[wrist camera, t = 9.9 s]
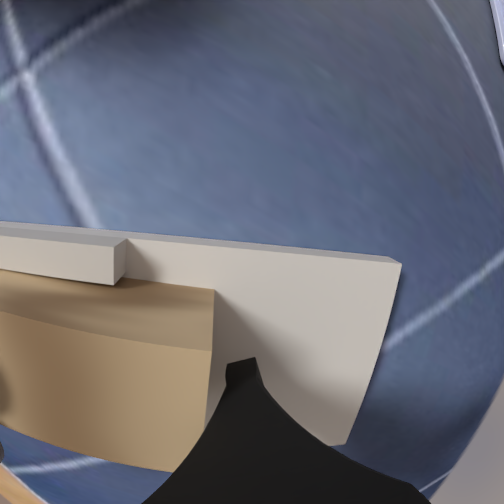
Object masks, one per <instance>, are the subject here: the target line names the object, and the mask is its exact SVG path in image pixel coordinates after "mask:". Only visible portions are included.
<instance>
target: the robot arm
mask: <svg viewBox="0 0 504 504" xmlns="http://www.w3.org/2000/svg"><path fill="white" fill-rule="evenodd" d="M490 4H491V9H492V13H493V18H494V23H495V28H496V34H497V39H498V46H499V53H500V59H501V62H502V64H503V65H504V0H490ZM225 380H226V387H225V389H224V392H223V394H222V396H221V398H220V400H219V403H218V405H217V407H216V409H215V411H214V413H213V415H212V417H211V419H210V420H209V422H208V424H207V426H206V428H205V430H204V431H203V433H202V435H201V436H200V438H199V439H198V441H197V442H196V444H195V445H194V447H193V448H192V450H191V451H190V452H189V454H188V455H187V457H186V458H185V459H184V460H183V462H182V463H181V464H180V465H179V466H178V468H177V469H176V470H175V471H174V472H173V474H172V475H171V476H170V477H169V478H168V479H167V480H166V481H165V482H164V483H163V484H162V485H161V486H160V487H159V488H158V489H157V490H156V491H155V492H154V493H153V494H152V495H151V496H150V497H149V498H147V499H146V500H145V501H144V502H143V503H142V504H431V503H430V502H429V501H428V500H427V499H426V497H425V496H424V495H423V494H421V493H420V492H419V491H418V490H417V489H416V488H415V487H414V486H413V485H411V484H410V483H407V482H404V481H401V480H398V479H395V478H392V477H390V476H387V475H384V474H382V473H379V472H377V471H374V470H372V469H370V468H368V467H366V466H364V465H362V464H359V463H357V462H355V461H353V460H351V459H350V458H348V457H346V456H345V455H343V454H341V453H339V452H338V451H336V450H334V449H333V448H331V447H329V446H328V445H326V444H325V443H323V442H322V441H320V440H319V439H318V438H316V437H315V436H313V435H312V434H311V433H309V432H308V431H307V430H306V429H305V428H303V427H302V426H301V425H300V424H298V423H297V422H296V421H295V420H294V419H293V418H292V417H291V416H290V415H289V414H288V413H287V412H286V411H285V410H284V409H283V408H282V407H281V406H280V405H279V404H278V403H277V402H276V401H275V399H274V398H273V397H272V396H271V394H270V393H269V392H268V391H267V389H266V388H265V387H264V384H263V380H262V377H261V374H260V371H259V367H258V364H257V361H256V357H252V358H248V359H244V360H240V361H236V362H232V363H228V364H227V366H226V372H225Z"/></svg>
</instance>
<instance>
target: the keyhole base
mask: <svg viewBox="0 0 504 504" xmlns="http://www.w3.org/2000/svg"><path fill="white" fill-rule="evenodd" d="M401 266H402V264H401V263H399V262H397V261H395V260H393V259H392V258H390V257H387V256H378V255H368V254H358V253H349V252H339V251H329V250H319V249H309V248H299V247H289V246H279V245H268V244H258V243H247V242H237V241H226V240H216V239H205V238H194V237H183V236H172V235H161V234H150V233H139V232H127V231H116V230H104V229H93V228H81V227H69V226H57V225H44V224H32V223H19V222H6V221H0V269H6V270H11V271H17V272H24V273H30V274H36V275H43V276H49V277H56V278H63V279H70V280H77V281H85V282H92V283H100V284H108V285H114V284H115V283H116V282H117V281H118V280H119V279H120V278H121V277H126V278H133V279H140V280H147V281H154V282H161V283H169V284H176V285H184V286H192V287H200V288H208V289H214V310H213V337H212V356H211V365H210V375H209V384H208V394H207V403H206V414H205V424H204V430H205V428H206V426H207V424H208V422H209V420H210V419H211V417H212V415H213V413H214V411H215V409H216V407H217V405H218V403H219V400H220V398H221V396H222V394H223V392H224V389H225V387H226V380H225V372H226V366H227V364H228V363H232V362H236V361H240V360H244V359H248V358H252V357H256V361H257V364H258V367H259V371H260V374H261V377H262V380H263V384H264V387H265V388H266V389H267V391H268V392H269V393H270V394H271V396H272V397H273V398H274V399H275V401H276V402H277V403H278V404H279V405H280V406H281V407H282V408H283V409H284V410H285V411H286V412H287V413H288V414H289V415H290V416H291V417H292V418H293V419H294V420H295V421H296V422H297V423H298V424H300V425H301V426H302V427H303V428H305V429H306V430H307V431H308V432H309V433H311V434H312V435H313V436H315V437H316V438H318V439H319V440H320V441H322V442H323V443H325V444H326V445H328V446H333V445H342V444H345V443H346V441H347V438H348V436H349V434H350V431H351V429H352V426H353V424H354V422H355V419H356V417H357V414H358V411H359V409H360V406H361V404H362V401H363V398H364V395H365V393H366V390H367V387H368V384H369V381H370V379H371V376H372V373H373V370H374V367H375V364H376V360H377V357H378V354H379V351H380V348H381V344H382V341H383V338H384V334H385V331H386V327H387V324H388V320H389V316H390V313H391V309H392V305H393V301H394V297H395V293H396V289H397V284H398V280H399V275H400V271H401ZM3 458H4V450H3V447H2V444H1V442H0V463H1V461H2V460H3Z"/></svg>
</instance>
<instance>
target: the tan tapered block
mask: <svg viewBox="0 0 504 504" xmlns="http://www.w3.org/2000/svg"><path fill="white" fill-rule="evenodd" d="M213 310H214V289H208V288H200V287H192V286H184V285H176V284H169V283H161V282H154V281H147V280H140V279H133V278H126V277H121V278H120V279H119V280H118V281H117V282H116V283H115V284H114V285H108V284H100V283H92V282H85V281H77V280H70V279H63V278H56V277H49V276H43V275H36V274H30V273H24V272H17V271H11V270H6V269H0V424H1V425H3V426H6V427H8V428H10V429H13V430H15V431H17V432H20V433H22V434H25V435H27V436H30V437H33V438H35V439H38V440H41V441H43V442H46V443H49V444H52V445H55V446H58V447H61V448H64V449H68V450H71V451H74V452H78V453H81V454H85V455H88V456H92V457H96V458H100V459H104V460H108V461H112V462H117V463H121V464H126V465H131V466H136V467H142V468H148V469H154V470H160V471H167V472H174V471H175V470H176V469H177V468H178V466H179V465H180V464H181V463H182V462H183V460H184V459H185V458H186V457H187V455H188V454H189V452H190V451H191V450H192V448H193V447H194V445H195V444H196V442H197V441H198V439H199V438H200V436H201V435H202V433H203V431H204V424H205V414H206V403H207V394H208V384H209V375H210V365H211V356H212V337H213Z"/></svg>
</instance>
